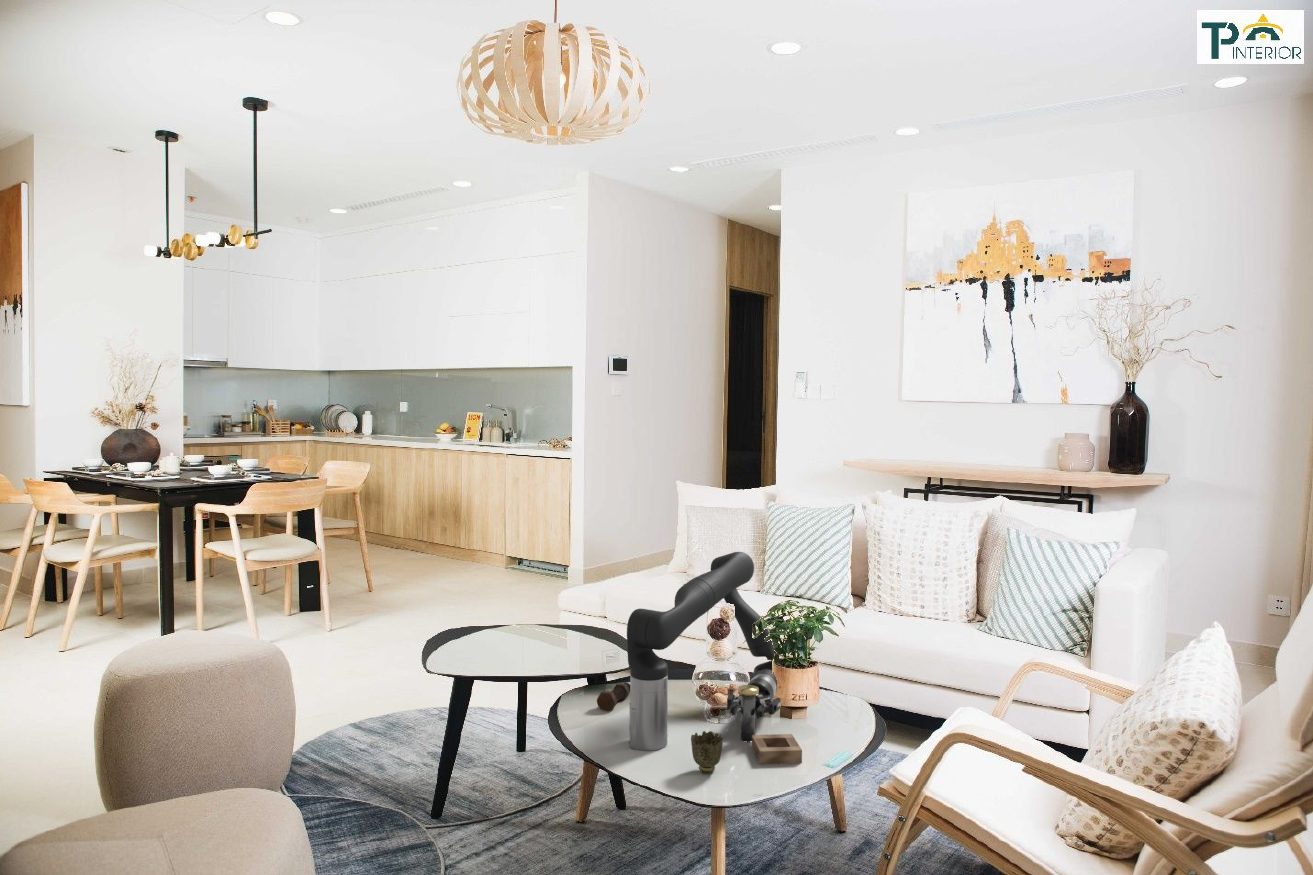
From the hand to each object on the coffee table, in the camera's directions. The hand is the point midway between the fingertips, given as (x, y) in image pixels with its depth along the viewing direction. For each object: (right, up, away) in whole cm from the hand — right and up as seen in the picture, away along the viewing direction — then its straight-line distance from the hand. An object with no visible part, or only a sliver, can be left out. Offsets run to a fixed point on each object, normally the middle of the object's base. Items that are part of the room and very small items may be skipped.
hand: (745, 713), depth 219 cm
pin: (+1, -7, +3) cm, 8 cm away
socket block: (+7, -8, -7) cm, 12 cm away
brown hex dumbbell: (-33, -6, +29) cm, 45 cm away
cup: (-11, -8, -16) cm, 21 cm away
